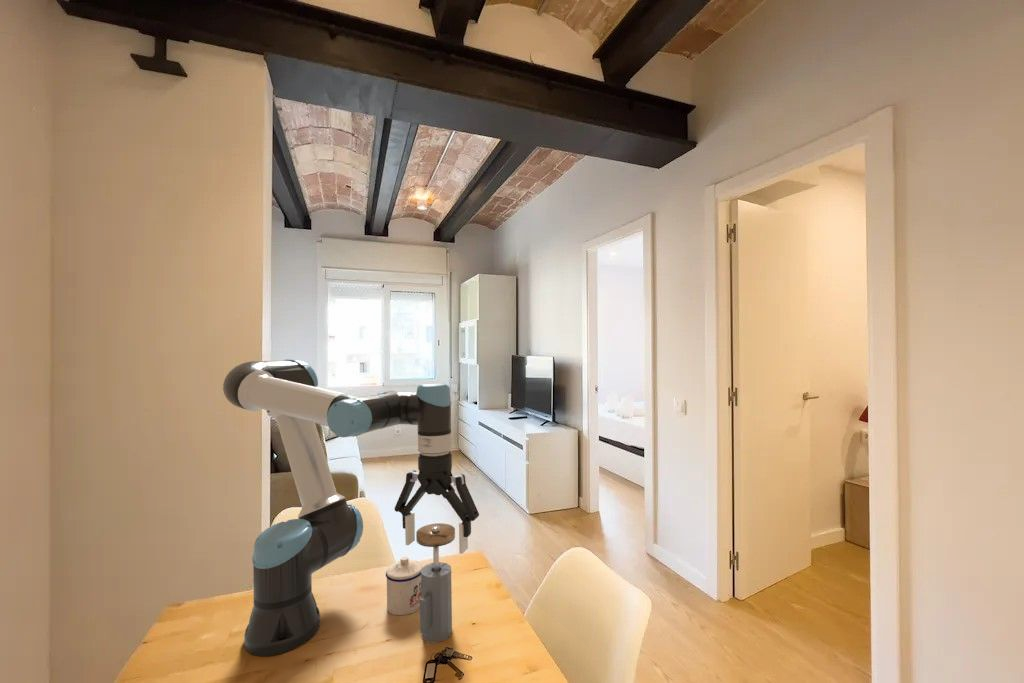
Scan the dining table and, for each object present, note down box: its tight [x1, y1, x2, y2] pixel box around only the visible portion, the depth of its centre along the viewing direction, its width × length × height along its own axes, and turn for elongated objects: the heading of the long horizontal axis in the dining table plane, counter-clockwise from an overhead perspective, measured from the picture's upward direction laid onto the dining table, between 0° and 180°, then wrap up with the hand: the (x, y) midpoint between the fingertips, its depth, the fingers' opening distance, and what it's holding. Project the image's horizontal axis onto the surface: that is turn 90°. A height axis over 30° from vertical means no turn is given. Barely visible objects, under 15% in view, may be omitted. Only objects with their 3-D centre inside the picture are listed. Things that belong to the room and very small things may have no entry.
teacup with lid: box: [385, 556, 424, 616], centre depth 109 cm, size 12×9×12 cm
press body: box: [419, 561, 453, 643], centre depth 96 cm, size 7×9×14 cm
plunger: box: [415, 523, 456, 572], centre depth 97 cm, size 9×9×14 cm
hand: (436, 546), depth 97 cm, fingers open, 13 cm apart
